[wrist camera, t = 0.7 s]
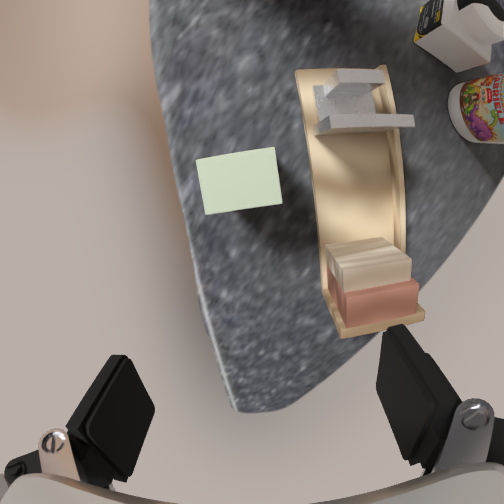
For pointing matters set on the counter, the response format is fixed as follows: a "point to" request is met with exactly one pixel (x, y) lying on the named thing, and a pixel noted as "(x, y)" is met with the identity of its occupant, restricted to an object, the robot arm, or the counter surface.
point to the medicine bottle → (460, 31)
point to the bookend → (353, 104)
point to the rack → (360, 218)
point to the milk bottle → (479, 109)
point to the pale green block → (239, 180)
